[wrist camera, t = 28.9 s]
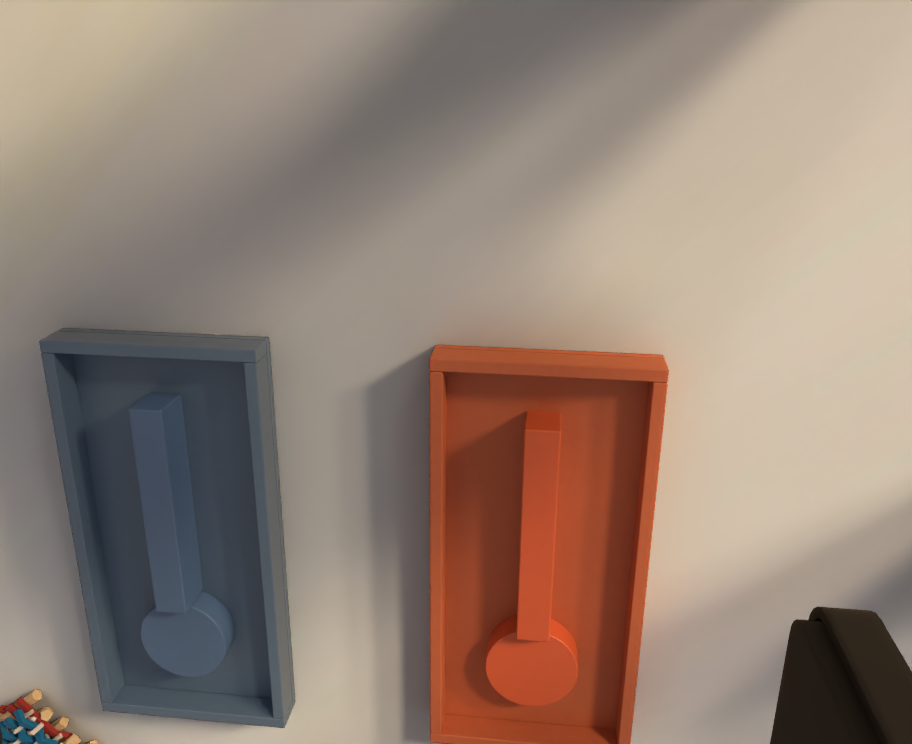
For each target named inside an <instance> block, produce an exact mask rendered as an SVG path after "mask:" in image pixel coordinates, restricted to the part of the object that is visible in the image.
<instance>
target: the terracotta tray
mask: <svg viewBox="0 0 912 744" xmlns="http://www.w3.org/2000/svg"><path fill="white" fill-rule="evenodd" d="M429 370H430V372H429V430H430V741H431V742H435V743H445V744H630V742H631V732H632V722H633V713H634V703H635V693H636V684H637V674H638V664H639V654H640V645H641V635H642V625H643V616H644V606H645V596H646V587H647V577H648V567H649V558H650V548H651V538H652V529H653V519H654V509H655V499H656V490H657V480H658V470H659V461H660V451H661V441H662V432H663V422H664V412H665V403H666V393H667V381H668V373H669V370H668V367H667V364H666V362H665V359H664V356H663V355H654V354H631V353H609V352H587V351H564V350H542V349H520V348H497V347H475V346H453V345H435V348H434V350H433V352H432V355H431V357H430V359H429ZM526 411H540V412H559V413H561V446H560V464H559V482H558V500H557V518H556V536H555V554H554V572H553V590H552V608H551V618H552V619H554V620H556V621H557V622H559V623H560V624H562V625H563V626H564V627H565V628H566V629H567V630H568V631H569V632H570V633H571V635H572V636H573V638H574V640H575V642H576V645H577V650H578V678H577V681H576V683H575V685H574V687H573V689H572V690H571V691H570V692H569V693H568V694H567V695H566V696H565V697H564V698H563V699H561V700H559V701H557V702H555V703H553V704H549V705H545V706H537V707H534V706H524V705H520V704H516V703H514V702H511V701H509V700H507V699H506V698H504V697H503V696H501V695H500V694H499V693H498V692H497V691H496V690H495V689H494V688H493V687H492V685H491V684H490V682H489V680H488V677H487V675H486V670H485V662H486V653H487V645H488V641H489V638H490V636H491V634H492V632H493V631H494V629H495V628H496V627H497V626H498V625H499V624H501V623H502V622H503V621H505V620H507V619H509V618H511V617H514V616H517V601H518V575H519V549H520V523H521V498H522V472H523V446H524V426H525V416H526Z"/></svg>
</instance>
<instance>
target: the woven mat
mask: <svg viewBox="0 0 912 744" xmlns="http://www.w3.org/2000/svg"><path fill="white" fill-rule="evenodd" d="M41 698H43V697H42V694H41V691H39V690H34V691H32V692H31V693H30V694H28V695H27V696H26V697H24V698H22V697H20V698H19V699H17V700H16V701H15V704H14V703H11V704H10V705H9V706H3V705H2V706H0V713H1V714H0V728H1V733H2V744H79V743H80V742H81V741H82V740H81V739H80V738H79V737H78V736H77V735H76V734H75V733H74V734H72V733H68V732H63V731H62V730H63V729H65V728H66V727H67V724H68V722H69V719H68V718H65V717H63V716H62V717H60V718H59V719H57V720H56V721H54V722H53V723H52V724H50V723H49V722H48V720H49V719H50V718H51V716H52V715H53V711H52V709H51V707H43V708H42V709H40V710H39V711H36V710H35V709H34V708H33V707H32V705H33V704H35V703H36V702H37V701H39V700H40V699H41ZM23 712H24V713H25V714H24V713H23ZM11 728H12V729H11ZM51 737H54V738H53V739H50V738H51ZM58 740H59V741H58ZM87 744H97V740H94V741H90V742H89V743H87Z"/></svg>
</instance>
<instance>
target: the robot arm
mask: <svg viewBox="0 0 912 744" xmlns="http://www.w3.org/2000/svg"><path fill="white" fill-rule="evenodd" d="M0 744H2V733H1V728H0ZM770 744H912V672H911V670H910V668H909V667H908V665H907V663H906V661H905V660H904V658H903V656H902V655H901V653H900V651H899V649H898V648H897V646H896V644H895V643H894V641H893V639H892V637H891V636H890V634H889V632H888V631H887V629H886V627H885V626H884V624H883V622H882V620H881V619H880V618H879V616H878V615H877V614H876V613H875V612H872V611H867V610H854V609H840V608H827V607H816V608H814V609H813V610H812V612H811V614H810V616H809V620H795V621H794V622H793V624H792V626H791V630H790V634H789V640H788V646H787V651H786V657H785V663H784V668H783V674H782V680H781V685H780V691H779V696H778V702H777V708H776V713H775V719H774V725H773V730H772V736H771V742H770Z"/></svg>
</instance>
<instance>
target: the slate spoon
mask: <svg viewBox="0 0 912 744" xmlns="http://www.w3.org/2000/svg"><path fill="white" fill-rule="evenodd" d="M129 418H130V425H131V432H132V439H133V447H134V454H135V461H136V468H137V476H138V483H139V490H140V497H141V505H142V512H143V519H144V527H145V534H146V541H147V548H148V556H149V563H150V570H151V577H152V585H153V592H154V599H155V604H154V605H153V607H152V608H151V609H150V611H149V612H148V613H147V615H146V616H145V618H144V619H143V622H142V625H141V632H140V634H141V641H142V644H143V647H144V649H145V651H146V652H147V654H148V655H149V656H150V658H151V659H152V660H153V661H154V662H155V663H156V664H158V665H159V666H160V667H162V668H163V669H165V670H167V671H169V672H171V673H174V674H176V675H180V676H186V677H197V676H202V675H205V674H208V673H210V672H212V671H213V670H215V669H216V668H217V667H218V666H219V665H220V664H221V662H222V661H223V659H224V657H225V656H226V654H227V652H228V650H229V649H230V647H231V645H232V643H233V640H234V635H235V628H234V623H233V619H232V617H231V615H230V613H229V612H228V610H227V609H226V607H225V606H224V605H223V604H222V603H221V602H220V601H219V600H217V599H216V598H215V597H213V596H211V595H210V594H208V593H205V592H203V591H202V590H203V583H202V574H201V565H200V557H199V548H198V539H197V530H196V521H195V512H194V504H193V495H192V486H191V477H190V468H189V459H188V451H187V442H186V433H185V424H184V415H183V406H182V398H181V394H172V393H153V392H150V393H149V394H147V395H146V396H145V397H144V398H142V399H141V400H140V401H139V402H137V403H136V404H135V405H133V406H132V407H131V408H130V409H129Z"/></svg>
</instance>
